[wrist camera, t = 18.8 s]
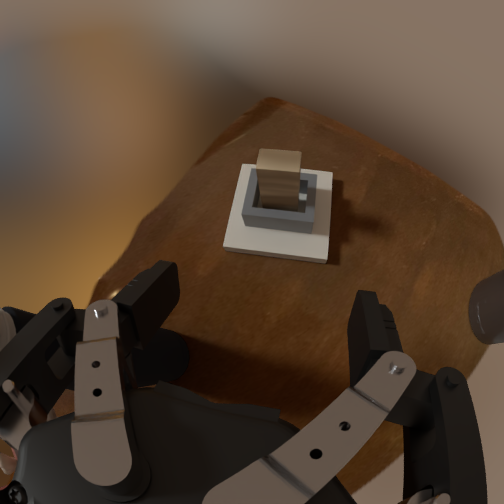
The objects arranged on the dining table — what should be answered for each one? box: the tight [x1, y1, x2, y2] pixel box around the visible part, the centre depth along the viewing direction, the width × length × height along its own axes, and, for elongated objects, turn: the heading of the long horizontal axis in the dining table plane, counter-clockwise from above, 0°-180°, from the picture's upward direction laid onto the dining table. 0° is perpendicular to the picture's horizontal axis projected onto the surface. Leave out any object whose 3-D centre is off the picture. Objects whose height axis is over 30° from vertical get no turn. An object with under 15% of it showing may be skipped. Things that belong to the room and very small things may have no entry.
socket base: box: [223, 164, 332, 264], centre depth 32 cm, size 12×12×4 cm
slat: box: [256, 149, 301, 212], centre depth 29 cm, size 2×4×9 cm, turn 80°
